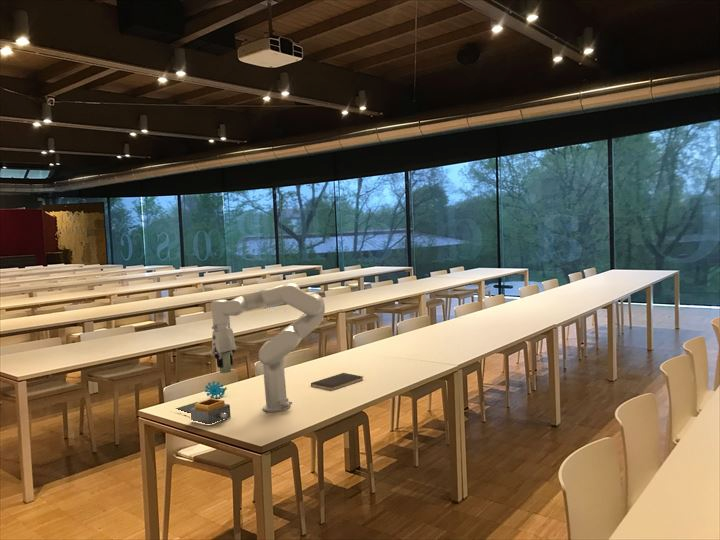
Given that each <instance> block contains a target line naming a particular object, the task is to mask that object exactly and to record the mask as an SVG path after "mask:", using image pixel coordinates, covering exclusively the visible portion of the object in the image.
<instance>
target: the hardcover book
mask: <svg viewBox="0 0 720 540" xmlns="http://www.w3.org/2000/svg"><path fill="white" fill-rule="evenodd" d="M363 380H364V376H363V375H357V374H352V373H347V372H341V373H339V374H338V373H337V374H335V375H331V376H329V377H326V378H323V379H319V380H316V381H312V382H311V383H310V386H311V387H314V386H316V387H315V388H319V387H320V389H323V388H324V389H323V390H328V391H333V390H337V389H340V388H342V387H345V386H348V385H351V384H354V383H358V382H361V381H363Z"/></svg>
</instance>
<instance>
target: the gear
mask: <svg viewBox="0 0 720 540" xmlns="http://www.w3.org/2000/svg"><path fill="white" fill-rule="evenodd" d="M227 389H228V387H224V384H220V382H219V381H217V382H216V381H215V380H213V381H212V385H211V382H208V383H207V384H206V385H205V390H204V392H205V393H206V396H207V397H208V396H210V398H213V399H215V398H217V399H218V398H219V397H221V398H222V397H223V395H225V392H226V391H227ZM214 396H215V397H214ZM210 398H209V399H210Z"/></svg>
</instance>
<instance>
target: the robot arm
mask: <svg viewBox="0 0 720 540" xmlns="http://www.w3.org/2000/svg"><path fill="white" fill-rule="evenodd" d="M284 304H287V305H288V306H290V307H291V308H294V309H296V310H298V311H300V312H302V313H303V314H302V315H300V317H298V318H297V319H296V320H294V322H292V323H291V324H289V325H288V326H286V327H284V328H283V329H282V330H281V331H280V333H278V334H276V336H274V337H273V338H272V339H269V340H266V341H265V342H264V344H262V346H260V349H259V351H258V359H259V360H258V361H259V362H260V363H262V368H263V369H262V370H263V380H264V381H263V382H264V395H265V404H264V405H263V406H262V410H263V411H264V412H267V413H268V412H269V413H279V412H282V411H286V410H288V409H290V408H291V406H292V405H293V402H292V401H289V397H287V387H286V376H285V375H286V373H285V357H286V356H287V355H288V354H290V353H291V352H292V351H294V350H295V349H296V348H297V347H298V345H299V344H300V342H301V341H303V340H304V338H306V337H307V336H308V335H309V334H311V333H312V332H313V331H314V330H315V329H316V328H317V327H318V326H319V325H320V324H321V323H322V321H323V319H324V316H325V314H326V313H325V311H326V306H325V301H324V298H323V297H322V295H319V294H317V293H313V294H312V293H311V294H310V293H307V292H306V291H304V290H302V289H301V288H300V286H299V285H298V284H297V283H295V282H287V283H284V284H281V285H276V286H273V287H269V288H265V289H261V290H259V291H255V292H252V293H247V294H245V295H241V296H238V297H234V298H233V299H231V300H227V299H216V300H213V301H212V302H211V315H212V326H211V329H212V330H213V331H212V333H211V336H212V337H211V345H212V346H211V347H212V348H211V351H210V352H209V354H210V355H211V356H212V357H214V358H215V359H216V365H217V368H219V369H220V368H223V361H222V359H221V356H222V353H224V352H227V351H229V352H230V363H231V366H233V363H234V362H233V357H234V354H235V351H236V350H237V348H238V346H237V345H236V340H235V335H234V334H235V333H234V331H233V328H232V327H231V320H230V316H232V317H237V316H240V315H242V314H243V313H245V312H248V311H251V310H255V309H256V310H257V309H260V308H266V309H268V308H269V309H270V308H273V307H276V306H279V305H280V306H281V305H284Z"/></svg>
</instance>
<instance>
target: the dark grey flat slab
mask: <svg viewBox="0 0 720 540" xmlns="http://www.w3.org/2000/svg"><path fill="white" fill-rule="evenodd" d="M199 402H200V401H199ZM199 402H198V401H196V402H195V401H194V402H192V403H188V404H186V405H182V406H179V407H177V408H175V409H178V410H181V411H184V412H187V413H191V412H190V409H192V408H194V407H195V404H196V403H199Z"/></svg>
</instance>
